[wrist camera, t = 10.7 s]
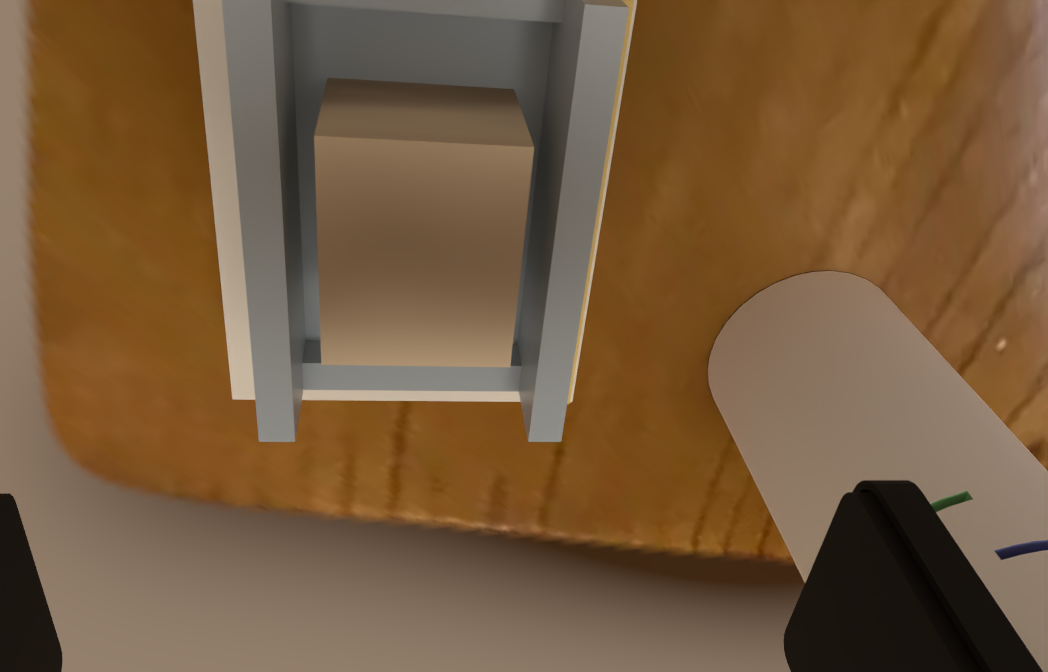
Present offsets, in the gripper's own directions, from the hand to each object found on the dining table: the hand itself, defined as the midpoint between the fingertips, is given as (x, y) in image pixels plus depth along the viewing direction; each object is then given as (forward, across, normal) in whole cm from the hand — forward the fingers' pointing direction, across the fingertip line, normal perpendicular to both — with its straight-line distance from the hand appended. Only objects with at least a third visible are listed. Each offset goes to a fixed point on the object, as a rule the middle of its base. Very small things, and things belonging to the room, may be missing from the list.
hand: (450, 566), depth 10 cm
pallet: (+14, 0, +1) cm, 14 cm away
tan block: (+12, 0, +1) cm, 12 cm away
